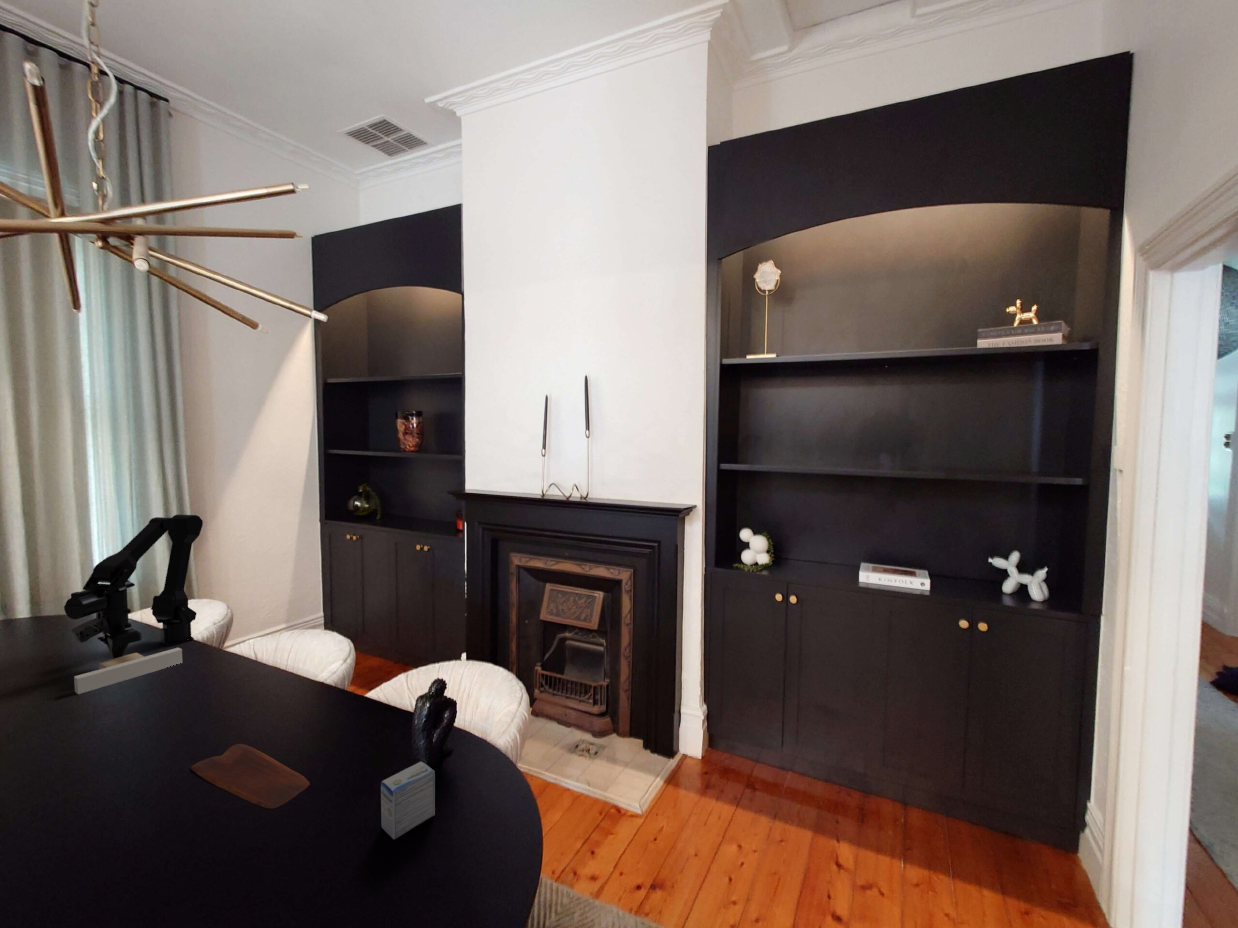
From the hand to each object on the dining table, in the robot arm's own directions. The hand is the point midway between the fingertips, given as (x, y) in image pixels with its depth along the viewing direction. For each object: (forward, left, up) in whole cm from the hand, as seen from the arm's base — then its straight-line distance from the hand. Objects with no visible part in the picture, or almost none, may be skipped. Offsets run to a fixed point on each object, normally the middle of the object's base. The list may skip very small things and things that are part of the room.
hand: (116, 661), depth 155 cm
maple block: (0, +4, -2) cm, 5 cm away
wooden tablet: (+3, +82, -2) cm, 82 cm away
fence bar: (0, +10, -2) cm, 10 cm away
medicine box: (-5, +118, -2) cm, 118 cm away
